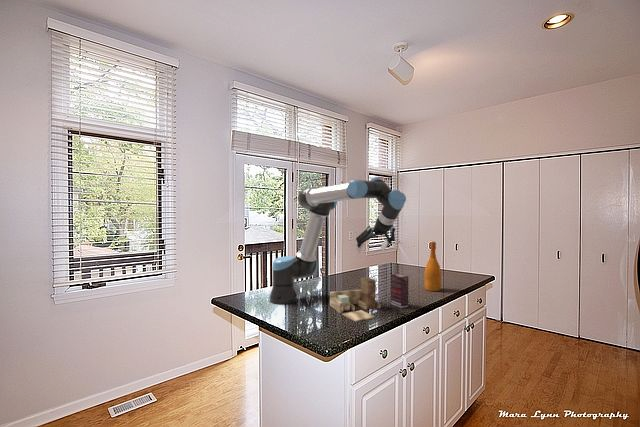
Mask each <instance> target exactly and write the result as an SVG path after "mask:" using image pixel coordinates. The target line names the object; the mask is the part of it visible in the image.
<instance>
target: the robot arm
mask: <svg viewBox="0 0 640 427" xmlns="http://www.w3.org/2000/svg"><path fill="white" fill-rule="evenodd" d="M297 199H298V204H299V205H300V207H302V208H304V209H306V210H308V212H309V216H308V221H307V223H306V228H305V231H304V234H303V238H302V243H301V246H300V250H299V251H297V252H296V253H295V257H294V256H290V255H289V256H288V255H287V256H281V257H276V258H274V260H273V262H272V289H271V292H270V294H269V302H270V303H272V304H277V305H287V304H293V303H295V302H297V301H298V294H297V290H296V288H295V281H296V280H301V279H304V278H305V279H307V278H310V277H313V276H315V274H316V273H317V271H318V267H319V264H318V260H317V256H316V251H317V248H318V244H319V240H320V236H321V233H322V230H323V227H324V223H325V220H326V218H327V217H329V215H330V213H331V211H332V210H334V209H335V208H336V207H337V204H338V202H340V201H349V200H357V199H375V200H377V201H378V202H379V204H381V205H382V208H381V211H380V212H379V214H378V216H377V218H376V221H375V223H374V226H372V227H371V225H367V227H366V228H365V230H364V231H362V232H361V233H360V234H359V235H358V236H357V237H356V238H355V240H356V251H357V253H358V254H359V253H361V251H362V248H363V247H364V245H365V244H364V243H365V242H367V241H369V240H371V239H372V238H375V237H377V236H383V235H384V236H385V239H384V241H383V242H382V245H381V246H380V249H381V251H382V252H385V250H386V248H387V247H388V246H389V245H391V244H393V242H395V241H396V235H395V231H396V228H395V226H394V224H395V222H396V220H397V218H398V216H399V214H400V213H401V211H402V209H403V208H404V206H405V204H406V201H407V196H406V195H405V194H404V192H402V191H401V190H396V189H394V190H392V189H391V187H389V185H388V184H387V183H386V182H385V181H384V180H383V179H382V178H381V177H379V176H375V177H372V178H371V179H370V180H362V179H352V180H350V181H349V182H344V183H338V184H334V185H328V186H323V187H314V186H311V187H310V186H309V187H305V188H303V189H301V190H300V192H298V197H297ZM389 231H390V236H389V234H388V232H389Z"/></svg>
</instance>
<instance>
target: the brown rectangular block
mask: <svg viewBox="0 0 640 427" xmlns="http://www.w3.org/2000/svg"><path fill="white" fill-rule="evenodd" d="M376 286H377V284H376V279H373V278H372V277H361V278H360V289H361V301H362V302H364V303H365V304H367V310H368V309H376V306H375V301H377V300H376V296H377V295H376V290H377V288H376Z"/></svg>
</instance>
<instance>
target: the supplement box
mask: <svg viewBox="0 0 640 427" xmlns="http://www.w3.org/2000/svg"><path fill="white" fill-rule="evenodd" d="M390 304H391V305H393V306H395V307H398V308H401V309H403V308H408V307H409V275H404V274H400V273H393V274H390Z"/></svg>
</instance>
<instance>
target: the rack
mask: <svg viewBox="0 0 640 427" xmlns="http://www.w3.org/2000/svg"><path fill="white" fill-rule="evenodd" d="M338 295H346V296H348V297H349V303H350V310H351V312H354V311H355V310H356V308H355V307H356V306H355V305H357V306H359V307H360V308H362V309H363V310H364V311H365V310H366V311H367V310H368V309H367V304H365V303H364V302H362V301H361V288H360V289H351V290H349V289H347V290H337V291H330V292H329V306H330V307H331V308H333V309H334V310H335V311H336V312H337V313H339V314H342V313H344V311H343V302H341V301H340V300H338ZM375 308H378V309H381V302H379V301H378V300H375Z"/></svg>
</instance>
